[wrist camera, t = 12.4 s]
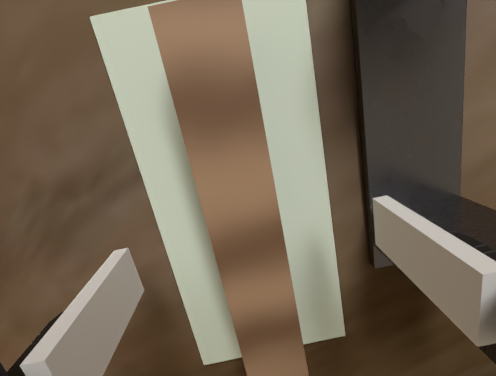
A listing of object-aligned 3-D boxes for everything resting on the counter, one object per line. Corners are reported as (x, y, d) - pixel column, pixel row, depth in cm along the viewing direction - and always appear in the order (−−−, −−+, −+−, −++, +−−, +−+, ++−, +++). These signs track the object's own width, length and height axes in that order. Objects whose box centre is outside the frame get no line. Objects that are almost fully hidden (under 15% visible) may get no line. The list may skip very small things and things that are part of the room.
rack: (341, -105, 16) (635, -662, 4) (460, -130, 16) (1067, -755, 4) (370, 263, 23) (506, 417, 12) (450, 246, 23) (666, 384, 12)
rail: (173, 37, 17) (147, 6, 12) (236, 24, 17) (239, -13, 12) (249, 337, 24) (254, 402, 19) (293, 328, 24) (311, 391, 19)
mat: (94, 19, 17) (89, 16, 16) (299, -24, 17) (302, -29, 16) (204, 359, 25) (204, 365, 24) (342, 330, 25) (345, 335, 24)
